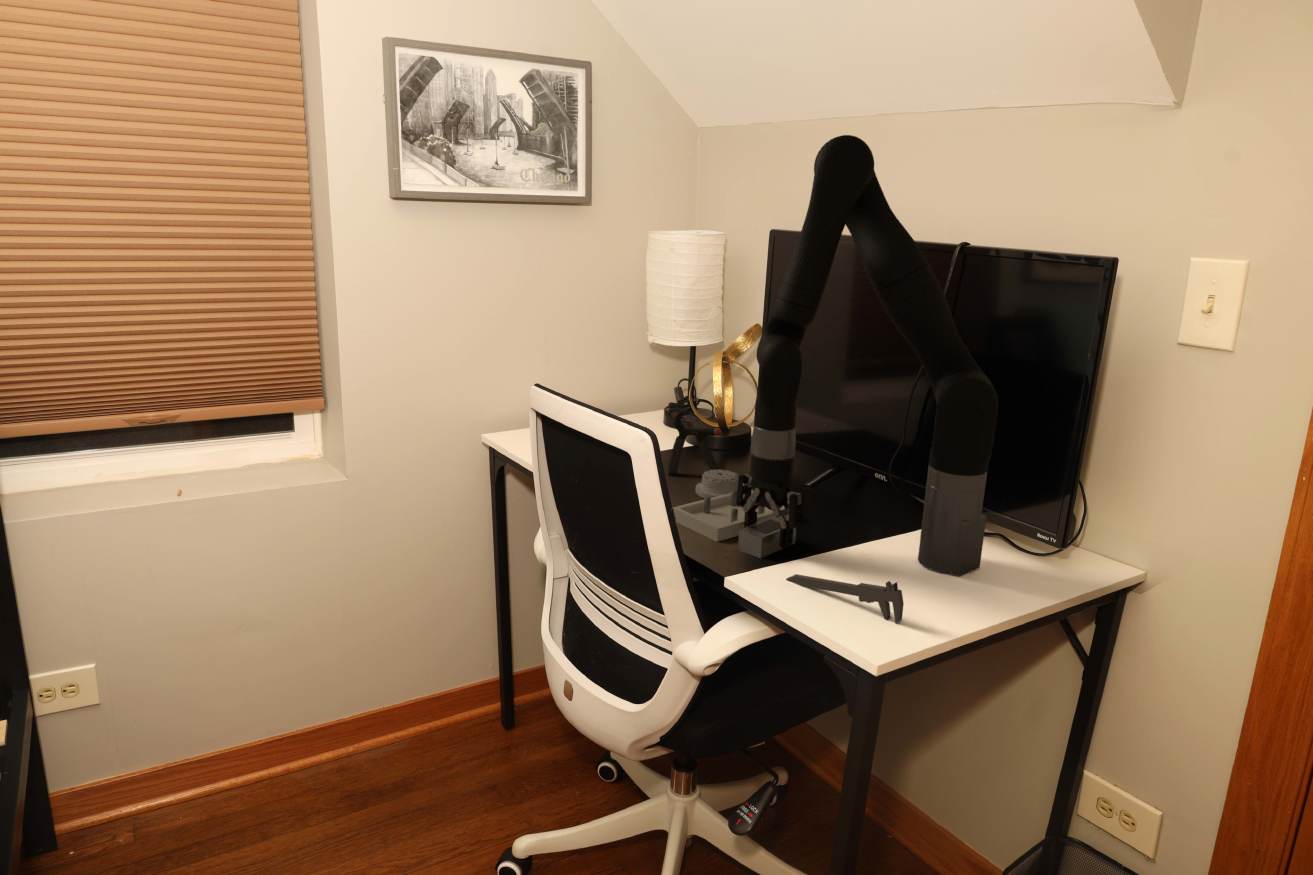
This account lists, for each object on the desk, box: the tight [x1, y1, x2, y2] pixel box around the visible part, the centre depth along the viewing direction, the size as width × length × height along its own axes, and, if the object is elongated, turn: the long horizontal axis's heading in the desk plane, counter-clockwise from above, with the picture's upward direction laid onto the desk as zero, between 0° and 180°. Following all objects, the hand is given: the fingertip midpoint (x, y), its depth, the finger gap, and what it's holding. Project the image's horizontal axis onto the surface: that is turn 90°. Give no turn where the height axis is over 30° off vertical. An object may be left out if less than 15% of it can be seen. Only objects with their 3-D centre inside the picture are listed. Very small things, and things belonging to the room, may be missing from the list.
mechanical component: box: [695, 469, 739, 499], centre depth 180 cm, size 10×4×10 cm
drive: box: [737, 516, 797, 559], centre depth 153 cm, size 5×10×4 cm, turn 136°
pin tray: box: [672, 490, 788, 543], centre depth 166 cm, size 13×20×4 cm, turn 128°
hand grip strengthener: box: [667, 408, 724, 477], centre depth 189 cm, size 2×12×15 cm, turn 78°
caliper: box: [785, 573, 904, 624], centre depth 133 cm, size 20×1×6 cm, turn 45°
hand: (767, 539), depth 154 cm, fingers open, 8 cm apart
